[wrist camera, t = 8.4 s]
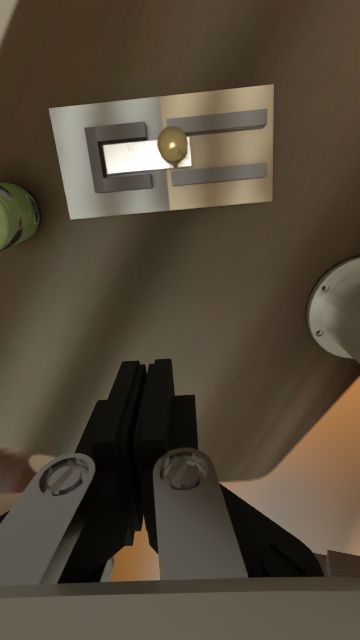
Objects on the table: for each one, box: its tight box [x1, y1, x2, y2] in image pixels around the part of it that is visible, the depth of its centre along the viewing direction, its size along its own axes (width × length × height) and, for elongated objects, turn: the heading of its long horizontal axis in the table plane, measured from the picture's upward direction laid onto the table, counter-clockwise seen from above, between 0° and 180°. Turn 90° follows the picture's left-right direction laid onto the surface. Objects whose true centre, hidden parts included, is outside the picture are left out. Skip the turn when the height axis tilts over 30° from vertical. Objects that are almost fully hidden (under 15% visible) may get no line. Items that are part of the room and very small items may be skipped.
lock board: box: [49, 84, 274, 219], centre depth 31 cm, size 21×10×4 cm, turn 95°
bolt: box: [103, 126, 191, 175], centre depth 28 cm, size 8×2×6 cm, turn 95°
